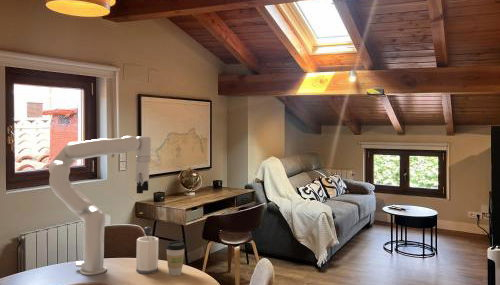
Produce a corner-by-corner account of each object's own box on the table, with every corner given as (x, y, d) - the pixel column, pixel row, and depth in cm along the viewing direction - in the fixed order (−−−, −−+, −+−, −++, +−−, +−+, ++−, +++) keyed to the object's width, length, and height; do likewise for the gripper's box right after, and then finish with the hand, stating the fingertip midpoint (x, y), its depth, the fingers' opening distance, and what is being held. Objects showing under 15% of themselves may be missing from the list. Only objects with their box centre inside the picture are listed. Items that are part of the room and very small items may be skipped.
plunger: (138, 265, 208) (138, 228, 208) (142, 260, 216) (142, 225, 215) (152, 266, 208) (153, 229, 208) (156, 261, 215) (156, 226, 215)
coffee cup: (180, 277, 203) (181, 247, 202) (161, 275, 205) (162, 245, 204) (187, 271, 212) (188, 241, 212) (169, 269, 214) (170, 240, 214)
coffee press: (133, 273, 207) (134, 241, 206) (141, 265, 219) (141, 235, 219) (154, 274, 206) (155, 242, 206) (161, 265, 219) (161, 235, 219)
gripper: (141, 158, 229) (140, 189, 230) (130, 160, 212) (130, 194, 212) (154, 158, 229) (153, 189, 229) (145, 161, 212) (144, 194, 212)
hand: (142, 191), depth 221 cm, fingers open, 9 cm apart
